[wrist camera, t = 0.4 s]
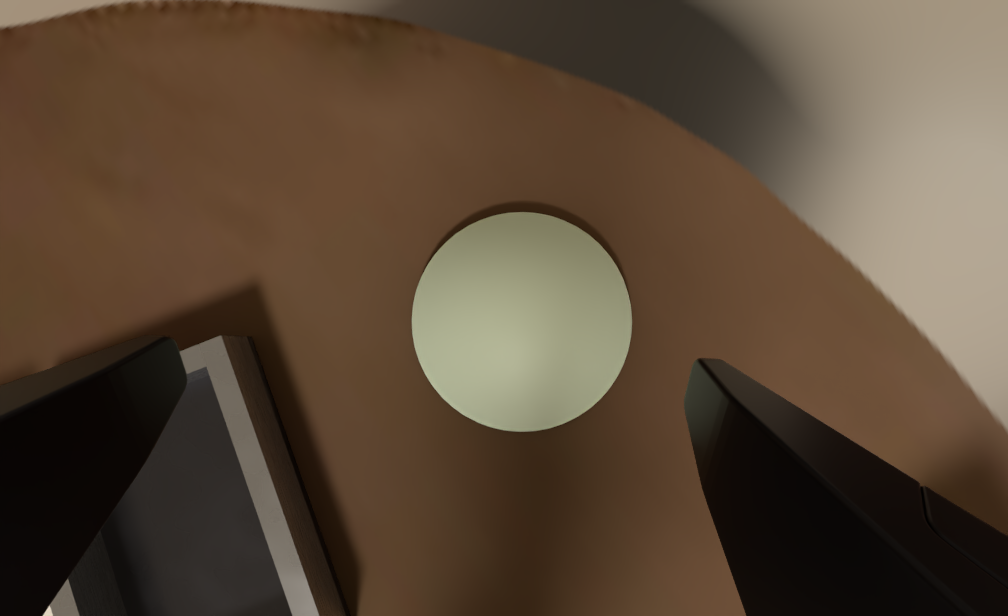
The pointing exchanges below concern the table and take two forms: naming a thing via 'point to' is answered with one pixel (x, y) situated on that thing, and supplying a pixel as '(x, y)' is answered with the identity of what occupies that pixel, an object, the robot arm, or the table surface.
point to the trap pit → (211, 511)
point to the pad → (521, 321)
